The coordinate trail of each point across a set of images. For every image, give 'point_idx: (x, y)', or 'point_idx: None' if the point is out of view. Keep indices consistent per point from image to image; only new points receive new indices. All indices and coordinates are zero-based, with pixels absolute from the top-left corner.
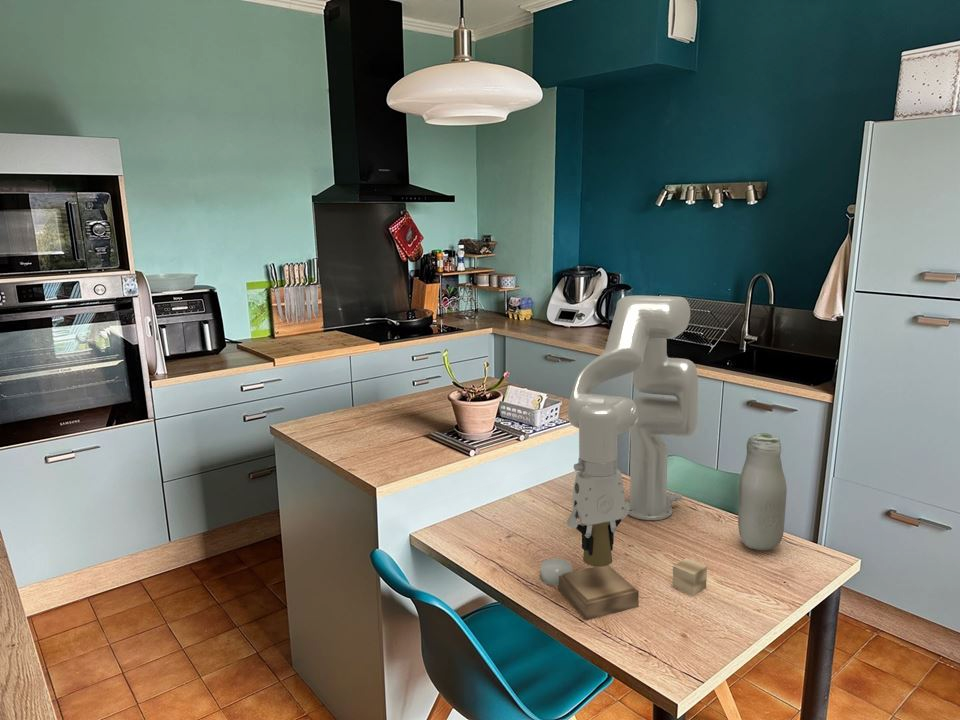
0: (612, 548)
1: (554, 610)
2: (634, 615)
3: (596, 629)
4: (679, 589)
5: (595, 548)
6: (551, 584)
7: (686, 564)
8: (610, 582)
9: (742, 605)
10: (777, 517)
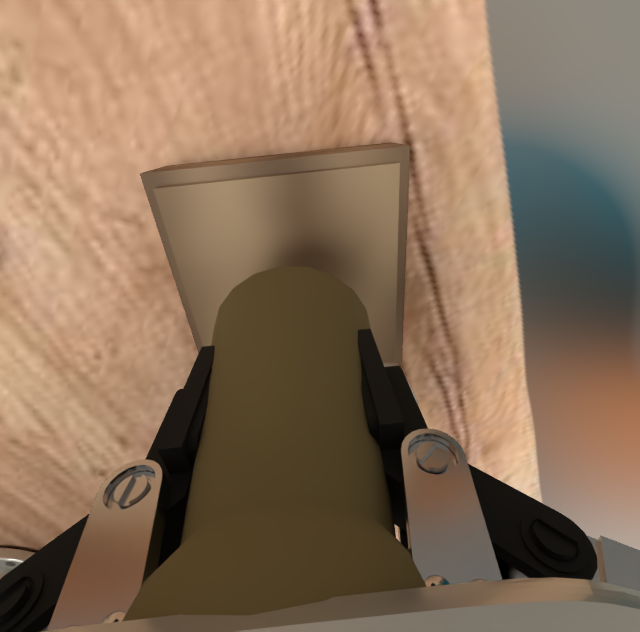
0: (200, 352)
1: (457, 237)
2: (201, 109)
3: (387, 62)
4: None
5: (344, 348)
6: (395, 362)
7: None
8: (247, 261)
9: None
10: None
